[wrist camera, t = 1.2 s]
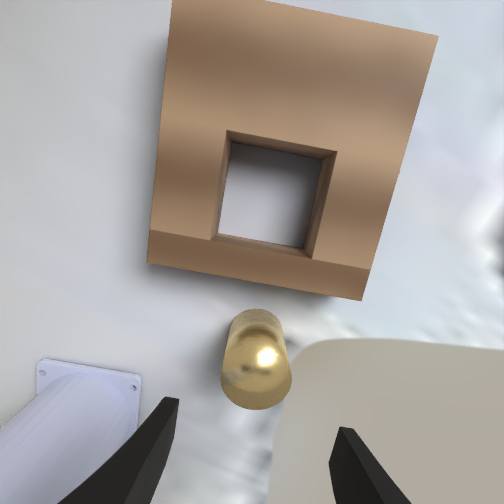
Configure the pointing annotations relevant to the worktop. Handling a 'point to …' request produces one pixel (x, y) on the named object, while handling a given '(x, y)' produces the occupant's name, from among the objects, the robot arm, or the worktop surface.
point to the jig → (283, 134)
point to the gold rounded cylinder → (256, 361)
